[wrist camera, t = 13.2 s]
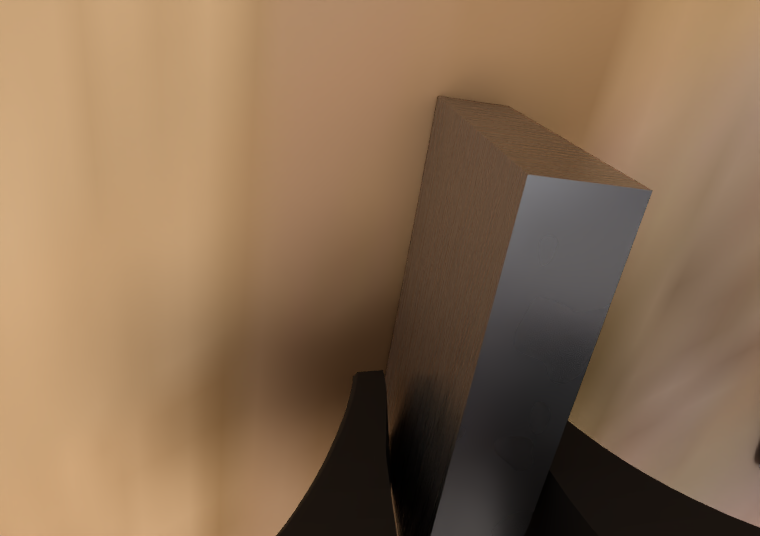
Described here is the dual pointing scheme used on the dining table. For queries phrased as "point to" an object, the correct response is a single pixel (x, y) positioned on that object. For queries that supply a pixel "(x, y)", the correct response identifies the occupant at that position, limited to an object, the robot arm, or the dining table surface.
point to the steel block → (498, 315)
